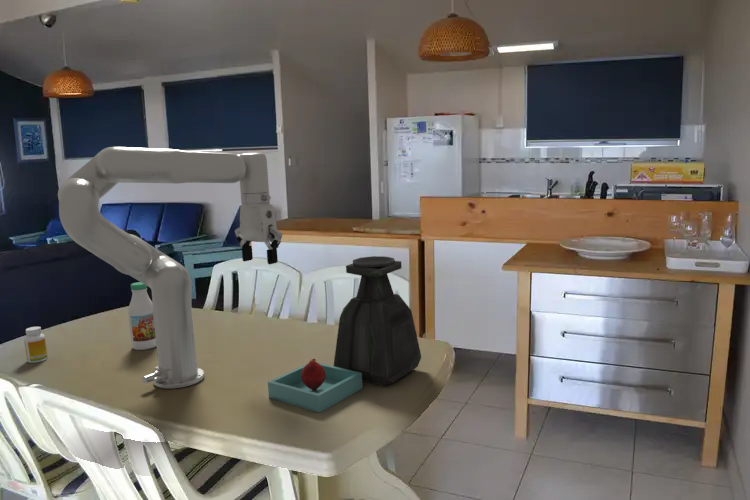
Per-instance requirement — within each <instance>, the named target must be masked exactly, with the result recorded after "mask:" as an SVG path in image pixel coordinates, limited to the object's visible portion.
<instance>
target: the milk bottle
mask: <svg viewBox="0 0 750 500" xmlns="http://www.w3.org/2000/svg"><path fill="white" fill-rule="evenodd" d="M130 290H131V292H132V293H131V294H132V295H131V300H130V303H129V306H128V310H127V311H128V323H129V332H130V340H131V341H130V342H131V347H132V349H133V350H136V351H143V350H151V349H153V348H155V347H156V348H157V346H156V336H155V327H154V320H153V306H152V300H151V298H150V296H149V294H148V292H147V290H148V286H147V285H145V284H143V283H142V282H140V281H138V282H133V283H130Z"/></svg>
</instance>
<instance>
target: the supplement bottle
mask: <svg viewBox="0 0 750 500" xmlns="http://www.w3.org/2000/svg"><path fill="white" fill-rule="evenodd" d="M25 334H26V336H25V337H24V338H23V339H24V340H23V342H24V348H25V355H26V357H25V358H26V360H27V361H26V362H28V363H31V364H36V363H41V362H44V361H47V359H48V358H49V357H48V348H47V343H46V337H45V334H44V333H42V327H41V326H30V327H27V328H26V329H25Z"/></svg>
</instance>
